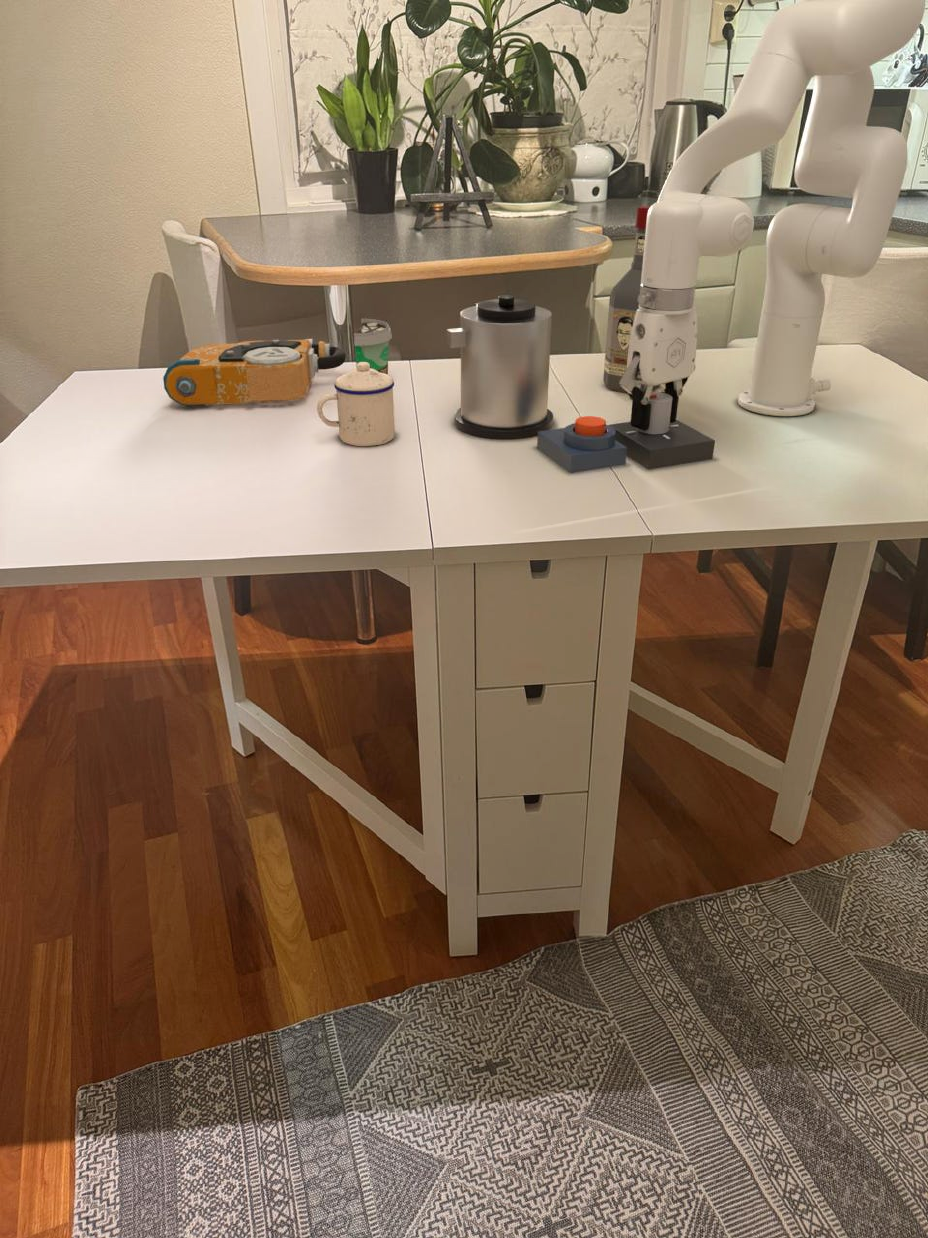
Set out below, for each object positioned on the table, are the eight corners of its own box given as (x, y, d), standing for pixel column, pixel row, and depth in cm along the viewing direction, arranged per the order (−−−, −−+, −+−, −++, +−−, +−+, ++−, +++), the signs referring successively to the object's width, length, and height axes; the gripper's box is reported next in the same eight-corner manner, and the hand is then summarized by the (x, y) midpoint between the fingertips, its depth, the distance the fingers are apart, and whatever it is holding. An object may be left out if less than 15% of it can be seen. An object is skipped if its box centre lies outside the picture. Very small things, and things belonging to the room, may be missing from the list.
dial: (657, 422, 140) (661, 388, 137) (675, 432, 136) (679, 397, 133) (630, 426, 138) (633, 391, 135) (647, 436, 134) (650, 400, 132)
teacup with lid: (389, 425, 148) (385, 353, 142) (402, 444, 140) (399, 368, 134) (315, 433, 145) (308, 359, 139) (325, 452, 137) (318, 375, 131)
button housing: (589, 440, 141) (591, 412, 139) (625, 464, 133) (628, 435, 130) (536, 448, 139) (538, 419, 136) (570, 473, 130) (572, 443, 128)
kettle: (518, 397, 160) (521, 279, 150) (570, 432, 145) (577, 302, 135) (425, 409, 155) (422, 287, 145) (468, 447, 139) (468, 312, 129)
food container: (391, 390, 164) (388, 334, 159) (357, 390, 164) (353, 334, 159) (396, 371, 175) (394, 317, 170) (364, 371, 175) (361, 317, 170)
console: (668, 434, 144) (670, 414, 142) (712, 459, 134) (715, 439, 133) (606, 443, 141) (608, 423, 139) (648, 470, 131) (650, 449, 129)
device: (183, 330, 169) (345, 326, 171) (190, 374, 173) (348, 370, 175) (156, 363, 150) (339, 358, 151) (165, 412, 154) (343, 407, 156)
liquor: (621, 376, 172) (636, 202, 156) (665, 384, 167) (685, 206, 152) (597, 388, 165) (611, 207, 150) (643, 397, 161) (662, 212, 145)
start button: (595, 425, 135) (596, 414, 134) (610, 435, 131) (611, 423, 131) (569, 429, 134) (570, 418, 133) (583, 439, 130) (584, 427, 129)
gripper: (643, 311, 120) (630, 442, 130) (727, 294, 129) (710, 419, 138) (603, 301, 125) (594, 428, 135) (687, 286, 134) (673, 407, 143)
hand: (653, 422), depth 136 cm, fingers open, 5 cm apart
